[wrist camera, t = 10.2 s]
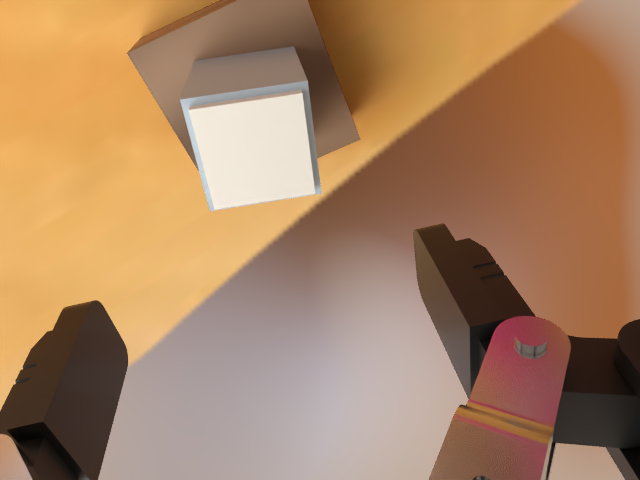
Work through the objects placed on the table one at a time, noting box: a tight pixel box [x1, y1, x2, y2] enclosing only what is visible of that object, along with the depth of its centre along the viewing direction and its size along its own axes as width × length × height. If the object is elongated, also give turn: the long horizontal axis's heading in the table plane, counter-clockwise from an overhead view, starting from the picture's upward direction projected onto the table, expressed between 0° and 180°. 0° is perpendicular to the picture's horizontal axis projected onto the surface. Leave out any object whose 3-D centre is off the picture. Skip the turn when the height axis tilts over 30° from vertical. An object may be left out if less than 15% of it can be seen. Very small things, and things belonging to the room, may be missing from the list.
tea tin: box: [180, 46, 321, 211], centre depth 23 cm, size 5×5×7 cm
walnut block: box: [127, 0, 360, 171], centre depth 28 cm, size 9×9×4 cm
